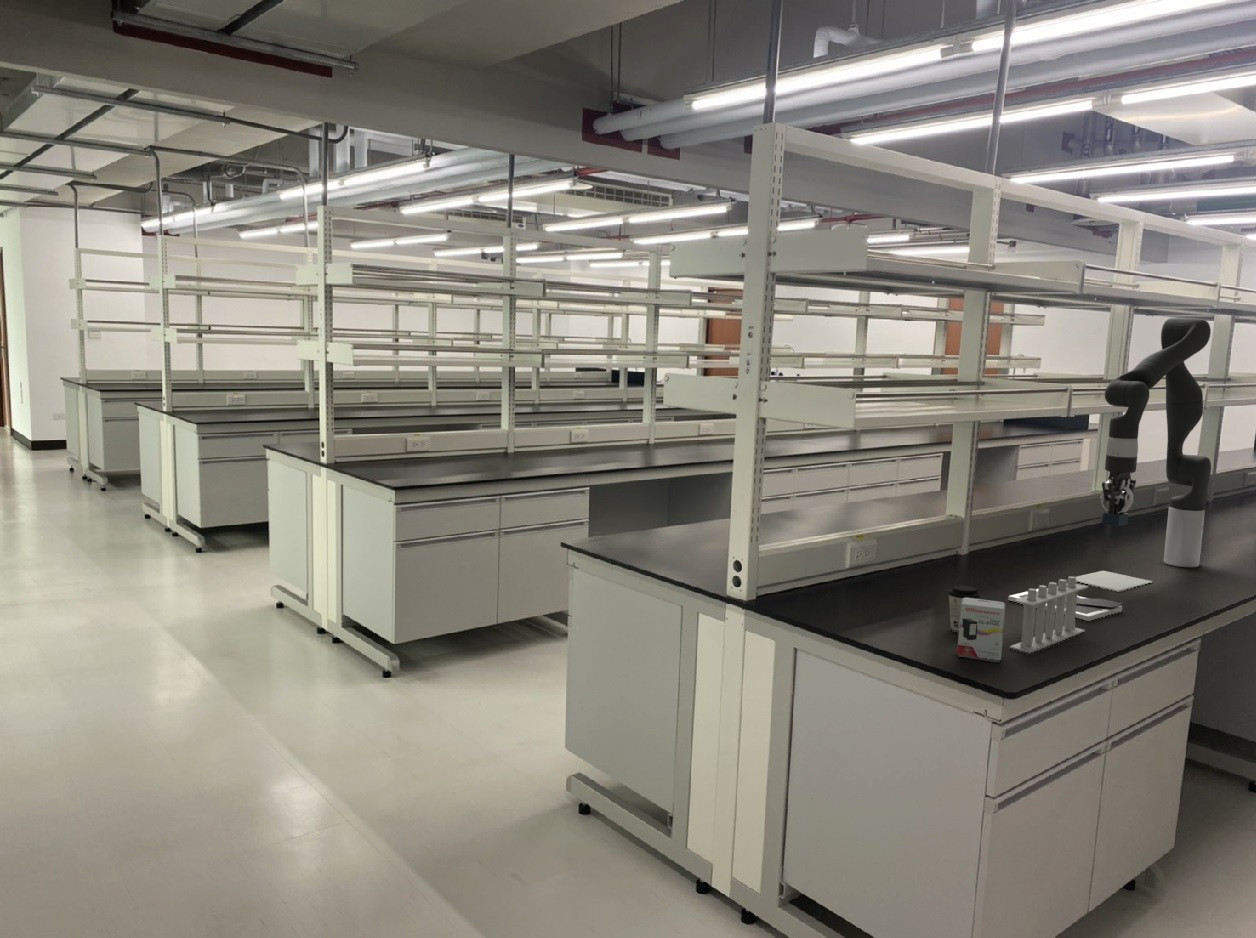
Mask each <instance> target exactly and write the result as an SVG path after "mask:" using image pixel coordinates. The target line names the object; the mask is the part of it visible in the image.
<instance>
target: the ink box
mask: <svg viewBox="0 0 1256 938" xmlns="http://www.w3.org/2000/svg"><path fill="white" fill-rule="evenodd" d="M1005 613H1006V603H1005V602H1003V601H997V600H991V599H990V600H988V599H983V598H982V599H980V598H979V599H974V598H962V601H961V613H960V625H959V633H958V640H957V649H956V650H957V651H956V652H957V653H956V655H957V654H960V655H966V656H974V657H980V658H987V659H994V660H1001V661H1002V653H1003V638H1004V627H1005V615H1006V614H1005Z"/></svg>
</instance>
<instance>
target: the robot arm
mask: <svg viewBox="0 0 1256 938" xmlns="http://www.w3.org/2000/svg"><path fill="white" fill-rule="evenodd" d="M1160 331H1161V332H1160V344H1161V349H1160V350H1159V351H1155V352H1154V353H1151V354H1149V355H1147V356H1146V357H1145V358H1143V359H1142V360H1141V361H1140V362H1139V363H1138V364H1137V365H1136V366H1135V367H1134V368H1133V369H1132V370H1130V371H1128V372H1125V373H1124V374H1122V375H1120V376H1118V377H1116V378H1114V379H1113V380H1112V381H1111V382H1109V384H1108V385H1107V387H1106V388H1105V391H1104V400H1105V401H1106V402H1107V403H1108V405H1110V406H1112V407H1121V408H1127V410H1126V411H1125V413H1124V414H1121V415H1120V414H1119V415H1114V416H1112V417H1111V418H1110V421H1109V429H1108V438H1107V440H1108V441H1107V443H1106V444H1107V445H1106V450H1105V451H1106V452H1105V463H1104V470H1105V471H1106V472H1109V475H1108V478H1107V481H1102V482H1101V488H1102V493H1103V494H1104V500H1105V501H1107V504H1108V507H1109V512H1108V511H1107V512H1108V513H1109V514H1124V513H1126V512H1123V513H1118V512H1120V511H1122V509H1123V507H1124V506H1125V505H1126V503H1127V501H1128V498H1129V494H1128V492H1127V491H1126V490H1125V489H1124V488H1123V486H1126V487H1128V488H1130V490H1131V491H1132V493H1133V494H1134V490H1135V487H1136V484H1137V480H1136V479H1132V476H1131V475H1132V473H1133V474H1134V473H1136V471H1137V464H1138V463H1137V462H1138V452H1139V442H1138V441H1139V439H1138V438H1139V428H1140V422H1141V421H1142V417H1143V415H1144V412H1145V409H1146V407H1147V405H1148V402H1149V399H1150V390H1151V389H1152V388H1154V387H1155V386H1156V385H1157V384H1158V383H1159V382H1160V381H1161V380H1162V379H1163V378H1164V377H1165V410H1166V411H1165V413H1166V428H1167V445H1166V447H1167V449H1166V463H1165V465H1166V466H1165V472H1166V473H1165V474H1166V478H1167V481H1168V482H1169V483H1170V484H1172V485H1179V486H1187V487H1192V488H1191V490H1190V491H1189V492H1188V493H1185V494H1180V495H1175V496H1172V497H1170V499H1169V501H1168V502H1169V503H1168V514H1167V522H1166V534H1165V545H1164V554H1163V563H1164V564H1167V565H1170V566H1174V567H1182V568H1197V567H1199V566H1200V559H1201V551H1202V543H1203V542H1202V541H1203V531H1204V523H1205V513H1206V511H1205V510H1206V504H1207V499H1208V490H1209V484H1210V479H1211V472H1212V463H1211V460H1210V458H1209V457H1207V456H1204V455H1193V454H1184V452H1183V447H1184V443H1185V441H1186V439H1187V438H1188V436H1189V435H1190V433H1191V432H1192V431H1193V430H1194V429H1195V427H1197V425H1198V423H1199V422H1200V421H1201V419H1202V417H1203V414H1204V394H1203V390H1202V388H1201V386H1200V385H1199V383H1198V382H1197V380H1196V379H1195V378H1194V376H1193V375H1192V373H1191V372H1190V370H1189V369H1188V368H1187V365H1186V363H1185V361H1186V360H1188V359H1190V358H1191V357H1193V356H1194V355H1196V354H1197V353H1199V352H1200V351H1202V350H1203V349H1204V348H1205V347H1206V346H1207V345H1208V342H1209V341H1210V338H1211V333H1212V332H1211V331H1212V330H1211V327H1210V323H1209V322H1208V321H1207V320H1206V319H1203V318H1196V317H1195V318H1194V317H1193V318H1188V317H1170V318H1168V319H1166V320H1165V321H1164V323H1163V325H1162V328H1161V330H1160ZM1114 491H1115V492H1114ZM1108 495H1109V497H1108Z"/></svg>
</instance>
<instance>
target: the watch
mask: <svg viewBox="0 0 1256 938" xmlns="http://www.w3.org/2000/svg"><path fill="white" fill-rule="evenodd" d="M1123 488H1124V489H1125V490H1126V491H1127V492H1128V494H1129V498H1128V500H1127V503H1125V506H1124V507H1123V509H1122V511H1120V512H1118V513H1123V512H1125V513H1124V514H1109V513H1108V512H1109V504H1108V502H1107V501H1105V500H1104V494H1103V492H1101V494H1100V497H1099V498H1100V503H1101V505H1102V508H1103V509H1104V510H1105V511H1107V512H1102V513H1103V514H1102V525H1106V526H1107V525H1108V526H1114V527H1115V526H1116V527H1122V526H1128V524H1129V515H1130V514H1129V513H1128V510H1129V509H1131V507H1132V505H1133V504H1134V501H1135V500H1134V492H1133V493H1132V491H1131V490H1130V488H1128V487H1126V486H1123ZM1114 492H1115V491H1114ZM1108 497H1109V495H1108Z"/></svg>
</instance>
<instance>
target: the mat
mask: <svg viewBox="0 0 1256 938" xmlns="http://www.w3.org/2000/svg"><path fill="white" fill-rule="evenodd" d="M1075 577H1076V583H1077V582H1080V583H1079V584H1081V583H1084V584H1083V585H1085V584H1088V585H1087V586H1090V585H1091V586H1090V587H1094V586H1095V587H1094V588H1098V587H1100V588H1099V589H1103V590H1107V589H1108V590H1107V591H1111V590H1112V591H1111V592H1115V591H1116V593H1119V592H1124V591H1127V589H1128V590H1132V589H1135V588H1134V587H1136V588H1138V587H1137V586H1140V587H1142V585H1143V586H1146V585H1145V584H1147V585H1149V584H1148V583H1151V584H1153V583H1152V582H1154V581H1153V580H1147V579H1144V578H1138V577H1134V576H1129V575H1125V574H1120V573H1116V572H1112V571H1107V570H1099V571H1096V572H1091V573H1087V574H1083V575H1078V576H1075ZM1131 588H1132V589H1131Z"/></svg>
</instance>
